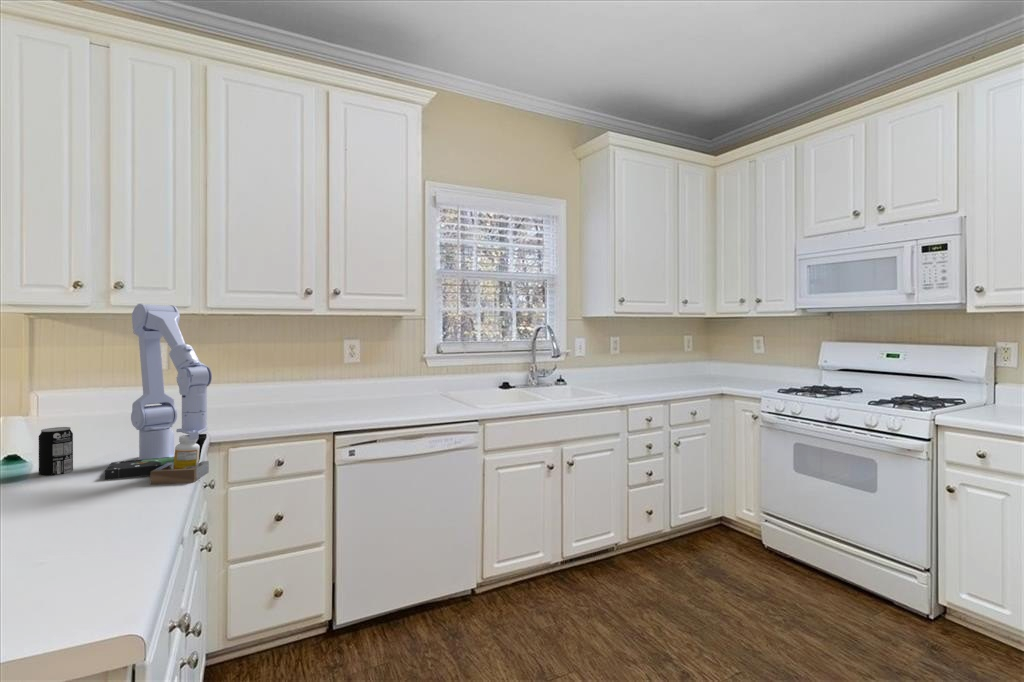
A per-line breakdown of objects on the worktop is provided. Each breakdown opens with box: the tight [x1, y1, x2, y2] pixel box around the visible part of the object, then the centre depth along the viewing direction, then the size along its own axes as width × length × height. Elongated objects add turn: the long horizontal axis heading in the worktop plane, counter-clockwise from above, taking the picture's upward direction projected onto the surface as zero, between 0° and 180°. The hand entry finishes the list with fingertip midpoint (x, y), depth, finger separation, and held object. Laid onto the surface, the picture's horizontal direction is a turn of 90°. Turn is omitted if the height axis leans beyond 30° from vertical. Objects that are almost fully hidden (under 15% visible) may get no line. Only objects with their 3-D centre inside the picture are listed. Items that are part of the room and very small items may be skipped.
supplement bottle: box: [174, 434, 200, 469], centre depth 135 cm, size 5×5×10 cm
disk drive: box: [104, 457, 174, 481], centre depth 137 cm, size 10×3×15 cm
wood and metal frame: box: [149, 460, 210, 485], centre depth 132 cm, size 10×10×3 cm
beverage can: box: [38, 426, 74, 477], centre depth 134 cm, size 7×7×12 cm
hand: (194, 462), depth 140 cm, fingers closed
